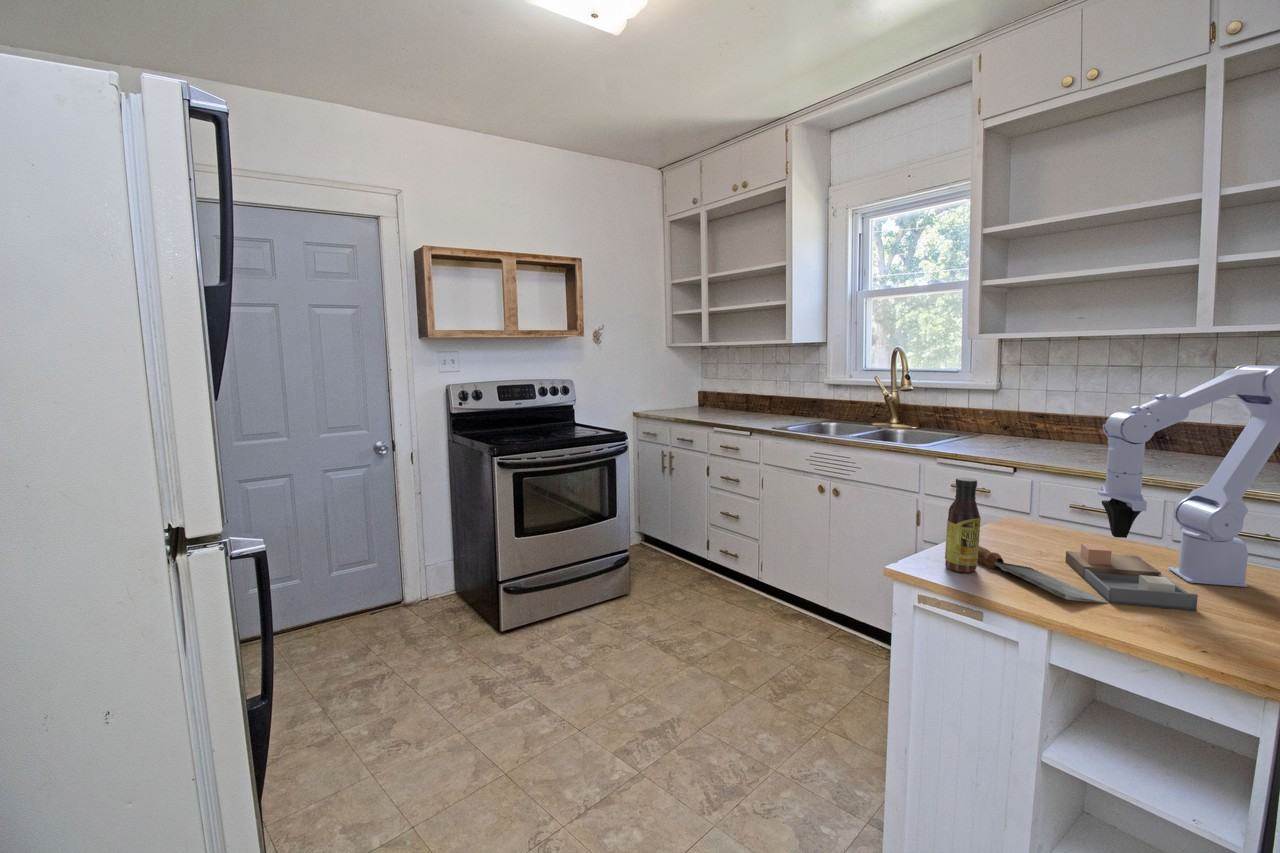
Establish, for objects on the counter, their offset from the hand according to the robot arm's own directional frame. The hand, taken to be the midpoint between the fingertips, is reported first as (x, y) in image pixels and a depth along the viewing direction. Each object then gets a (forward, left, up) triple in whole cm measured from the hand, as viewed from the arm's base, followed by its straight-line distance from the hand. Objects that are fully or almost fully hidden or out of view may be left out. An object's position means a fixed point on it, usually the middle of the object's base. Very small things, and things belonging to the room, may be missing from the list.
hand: (1119, 536), depth 123 cm
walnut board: (0, -2, -8) cm, 9 cm away
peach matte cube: (+3, -1, -6) cm, 7 cm away
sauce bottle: (+29, +3, -9) cm, 31 cm away
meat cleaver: (+18, +2, -9) cm, 20 cm away
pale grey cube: (-2, +11, -5) cm, 12 cm away
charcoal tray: (0, +10, -8) cm, 13 cm away
